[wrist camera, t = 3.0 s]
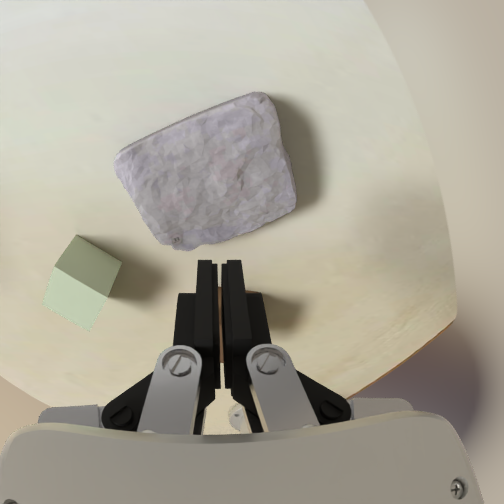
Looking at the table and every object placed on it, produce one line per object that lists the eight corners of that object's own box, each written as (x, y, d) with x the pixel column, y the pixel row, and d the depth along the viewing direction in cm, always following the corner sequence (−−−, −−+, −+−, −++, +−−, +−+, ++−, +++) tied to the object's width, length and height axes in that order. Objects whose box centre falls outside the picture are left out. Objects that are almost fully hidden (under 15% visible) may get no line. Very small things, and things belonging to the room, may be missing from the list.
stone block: (297, 184, 26) (260, 76, 19) (313, 218, 22) (274, 91, 15) (172, 231, 27) (114, 142, 20) (170, 270, 24) (96, 172, 17)
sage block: (122, 261, 26) (107, 297, 21) (103, 295, 27) (89, 331, 23) (76, 234, 24) (54, 266, 19) (61, 271, 25) (42, 304, 21)
